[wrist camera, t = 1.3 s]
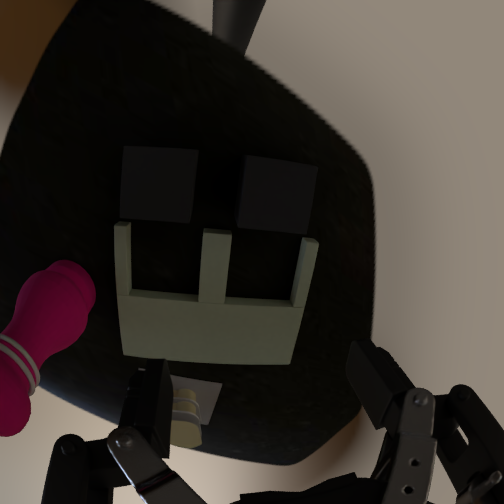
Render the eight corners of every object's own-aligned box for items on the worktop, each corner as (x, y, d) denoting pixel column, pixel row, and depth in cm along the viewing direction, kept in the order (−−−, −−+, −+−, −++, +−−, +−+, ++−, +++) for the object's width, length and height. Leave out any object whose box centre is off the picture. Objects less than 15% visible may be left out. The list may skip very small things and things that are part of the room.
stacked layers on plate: (136, 411, 32) (130, 443, 27) (138, 367, 30) (130, 402, 24) (207, 424, 34) (209, 456, 29) (222, 383, 32) (225, 418, 27)
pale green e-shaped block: (119, 220, 24) (113, 225, 23) (313, 238, 27) (319, 243, 26) (126, 346, 28) (123, 355, 27) (286, 356, 32) (289, 364, 30)
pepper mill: (86, 328, 27) (17, 483, 8) (36, 292, 25) (-64, 420, 6) (111, 281, 26) (19, 457, 7) (55, 240, 23) (-83, 367, 5)
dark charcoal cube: (137, 146, 22) (123, 145, 18) (199, 149, 23) (196, 149, 19) (132, 207, 24) (119, 218, 20) (192, 212, 25) (189, 223, 21)
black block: (241, 154, 24) (247, 155, 20) (302, 163, 24) (318, 166, 21) (233, 215, 25) (237, 227, 22) (293, 222, 26) (306, 234, 22)
